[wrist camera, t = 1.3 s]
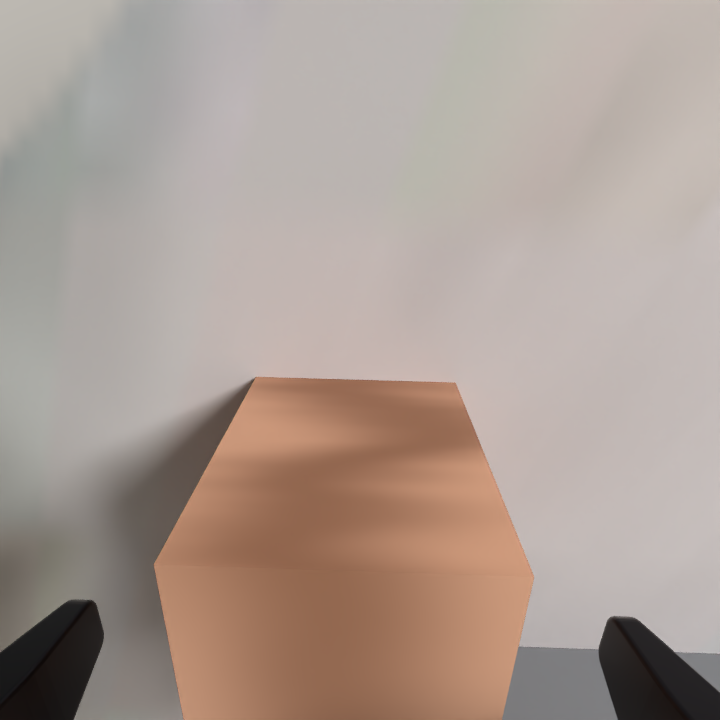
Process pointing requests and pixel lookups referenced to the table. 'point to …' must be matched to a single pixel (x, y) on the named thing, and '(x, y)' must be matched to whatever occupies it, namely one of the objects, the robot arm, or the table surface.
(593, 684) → the gray block
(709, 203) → the table surface
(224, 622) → the terracotta cube
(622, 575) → the table surface
